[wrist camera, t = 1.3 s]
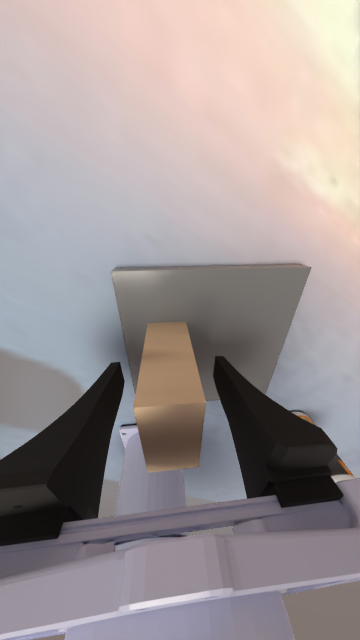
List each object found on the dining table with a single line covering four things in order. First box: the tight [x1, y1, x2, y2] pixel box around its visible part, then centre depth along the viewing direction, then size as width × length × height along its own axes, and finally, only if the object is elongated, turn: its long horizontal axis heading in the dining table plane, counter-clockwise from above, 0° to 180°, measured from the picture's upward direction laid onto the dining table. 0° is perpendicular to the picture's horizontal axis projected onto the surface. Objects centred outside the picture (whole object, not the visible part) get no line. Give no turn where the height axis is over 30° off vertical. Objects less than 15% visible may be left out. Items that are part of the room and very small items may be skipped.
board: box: [111, 264, 311, 401], centre depth 15 cm, size 14×14×1 cm
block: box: [133, 322, 206, 473], centre depth 11 cm, size 6×3×7 cm, turn 0°
